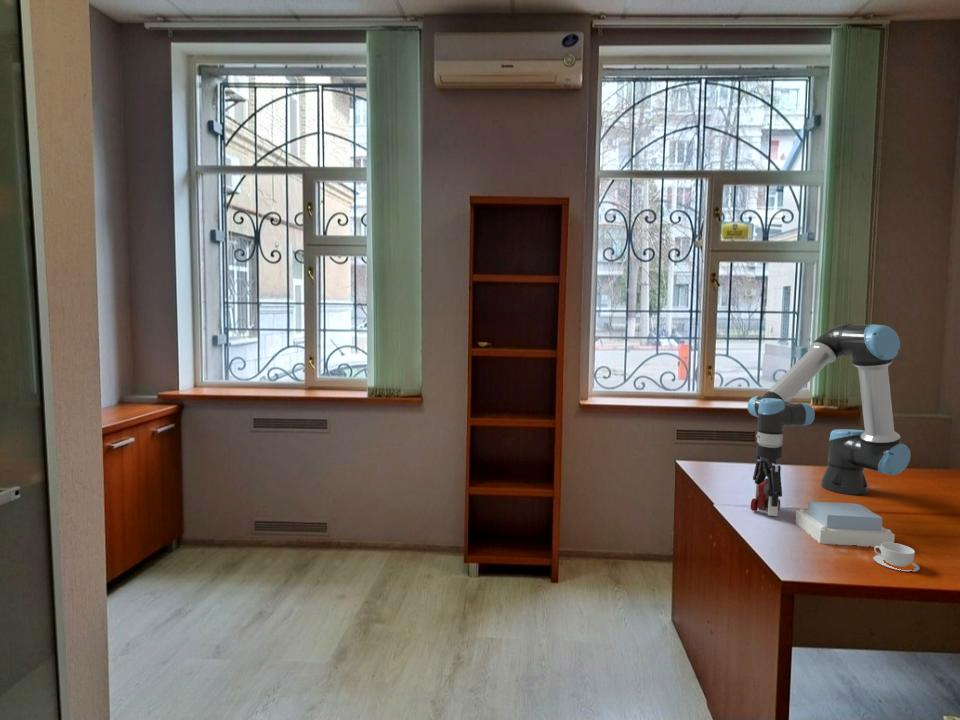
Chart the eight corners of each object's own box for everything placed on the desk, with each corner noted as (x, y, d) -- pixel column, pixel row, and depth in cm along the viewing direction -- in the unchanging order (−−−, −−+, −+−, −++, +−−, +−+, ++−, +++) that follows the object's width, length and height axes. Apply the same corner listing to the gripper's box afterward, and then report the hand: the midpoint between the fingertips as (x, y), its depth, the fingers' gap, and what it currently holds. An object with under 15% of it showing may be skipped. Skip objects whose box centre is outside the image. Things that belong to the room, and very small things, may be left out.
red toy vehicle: (781, 508, 191) (783, 478, 190) (770, 518, 182) (772, 486, 181) (760, 503, 196) (761, 474, 195) (748, 512, 187) (749, 482, 186)
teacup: (920, 564, 151) (922, 547, 151) (918, 577, 144) (919, 559, 143) (875, 553, 158) (877, 537, 157) (870, 564, 150) (872, 548, 150)
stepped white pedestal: (862, 526, 177) (864, 502, 176) (893, 547, 161) (895, 521, 160) (795, 523, 179) (797, 498, 178) (819, 543, 163) (821, 516, 163)
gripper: (745, 436, 199) (741, 496, 201) (771, 453, 176) (767, 521, 178) (767, 437, 198) (763, 497, 200) (796, 454, 175) (792, 522, 177)
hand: (765, 509), depth 189 cm, fingers closed on red toy vehicle, 11 cm apart
